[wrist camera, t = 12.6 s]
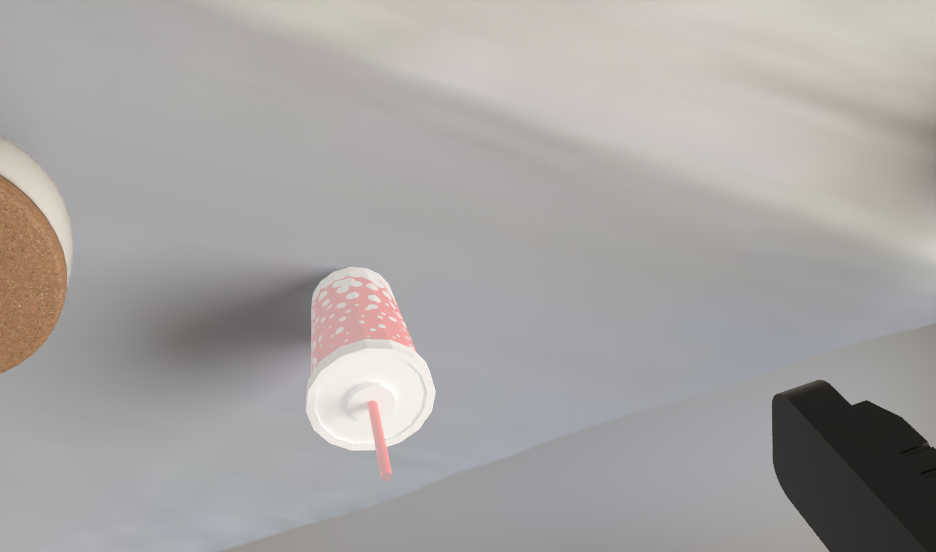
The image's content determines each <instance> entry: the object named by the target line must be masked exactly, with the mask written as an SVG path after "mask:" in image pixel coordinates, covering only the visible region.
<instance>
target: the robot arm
mask: <svg viewBox="0 0 936 552" xmlns="http://www.w3.org/2000/svg"><path fill="white" fill-rule="evenodd" d="M772 432H773V433H772V436H773V464H774V469H775V472H776V475H777V478H778V480H779V483H780V485H781V487H782V489H783V490H784V492H785V494H786V496H787V497H788V498H789V500H790V501H791V503H792V504H793V505H794V506H795V508H796V509H797V510H798V511H799V513H800V514H801V515H802V516H803V518H804V519H805V520H806V522H807V523H808V524H809V526H810V527H811V528H812V529H813V531H814V532H815V533H816V535H817V536H818V537H819V538H820V540H821V541H822V542H823V543H824V545H825V546H826V547H827V549H828V550H829V551H830V552H936V449H935V448H934V447H932V448H931V447H930V446H929V444H928V442H927V441H926V440H925V439H924V438H923V437H922V436H921V435H920V434H919V433H918V432H917V431H915V429H913V428H912V427H911V426H910V425H909V424H908V423H907V422H906V421H905V420H904V419H903V418H902V417H900V416H898V415H895V414H894V413H892V412H890V411H887V410H885V409H883V408H881V407H879V406H877V405H875V404H873V403H871V402H869V401H863V402H860V403H857V404H855V405H851V404H849V403H848V402H847V401H846V400H845V399H844V398H843V397H842V396H841V395H840V394H839V393H838V392H837V391H836V390H835V389H834V388H833V387H832V386H831V385H830V384H829V383H827V382H826V381H823V380H816V381H814V382H811V383H808V384H805V385H802V386H799V387H796V388H793V389H790V390H787V391H785V392H782V393H779V394H776V395H775V396H774V397H773V400H772Z"/></svg>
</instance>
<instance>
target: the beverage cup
mask: <svg viewBox="0 0 936 552" xmlns="http://www.w3.org/2000/svg"><path fill="white" fill-rule="evenodd" d="M435 393H436V391H435V387H434V384H433V381H432V377H431V374H430V371H429V369H428V367H427V363H426V362H425V361H424V360H423V359H422V358H421V357H420V356H419V355H418V354H417V352H416V350H415V347H414V345H413V342H412V340H411V337H410V335H409V333H408V330H407V328H406V325H405V323H404V320H403V318H402V316H401V313H400V311H399V308H398V306H397V303H396V301H395V298H394V296H393V294H392V291H391V289H390V286H389V284H388V283H387V282H386V281H385V280H384V279H383V278H382V277H381V276H380V275H379V274H378V273H375V272H373V271H371V270H369V269H366V268H356V267H348V268H344V269H341V270H338V271H334V272H332V273H331V274H330V275H328V276H327V277H326V278H324V279H323V280H322V281H320V283H319V285H318V286H317V288H316V289H315V291H314V293H313V297H312V307H311V376H310V378H309V380H308V385H307V394H306V412H307V415H308V417H309V419H310V422H311V424H312V427H313V429H314V430H315V431H316V432H317V433H318V434H319V435H321V436H322V437H323V438H324V439H325V440H327V441H328V442H329V443H330V444H333V445H337V446H340V447H343V448H346V449H349V450H376V453H377V459H378V464H379V469H380V474H381V479H382V480H384V481H388V480H390V479H391V478H392V472H391V467H390V462H389V457H388V452H387V447H388V446H391V445H394V444H397V443H400V442H401V441H403V440H404V439H406V438H407V437H409V436H410V435H411V434H413V433H414V432H416V431H417V430H419V429H420V427H421V426H422V424H423V423H424V422H425V420H426V419H427V417H428V416H429V414H430V413H431V412H432V408H433V403H434V398H435Z"/></svg>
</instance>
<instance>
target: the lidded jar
mask: <svg viewBox="0 0 936 552" xmlns="http://www.w3.org/2000/svg"><path fill="white" fill-rule="evenodd" d="M73 253H74V244H73V230H72V224H71V219H70V214H69V211H68V208H67V206H66V203H65V201H64V198H63V196H62V194H61V193H60V191H59V189H58V188H57V186H56V184H55V183H54V181H53V180H52V178H51V177H50V176H49V174H48V173H47V172H46V171H45V170H44V168H43V167H42V166H41V165H40V164H39V163H38V162H37V161H36V160H35V159H34V158H33V157H32V156H30V155H29V154H28V153H27V152H26V151H24V150H23V149H21V148H20V147H19V146H17V145H16V144H14V143H13V142H11V141H9V140H7V139H6V138H4V137H2V136H0V374H1V373H3V372H5V371H7V370H9V369H11V368H13V367H15V366H17V365H18V364H20V363H21V362H23V361H24V360H25V359H27V358H28V357H30V356H31V355H32V354H33V353H34V352H35V351H36V350H37V349H38V348H39V347H40V346H41V345H42V344H43V343H44V342H45V341H46V339H47V338H48V336H49V335H50V333H51V332H52V330H53V329H54V327H55V325H56V323H57V320H58V318H59V315H60V313H61V311H62V308H63V305H64V300H65V295H66V290H67V286H68V282H69V279H70V274H71V268H72V263H73Z"/></svg>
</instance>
